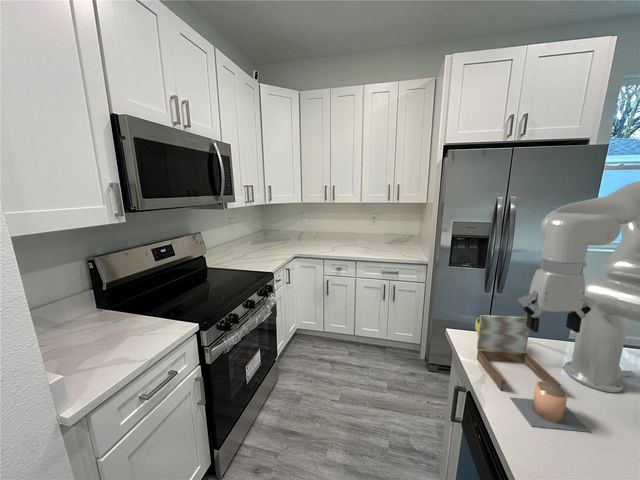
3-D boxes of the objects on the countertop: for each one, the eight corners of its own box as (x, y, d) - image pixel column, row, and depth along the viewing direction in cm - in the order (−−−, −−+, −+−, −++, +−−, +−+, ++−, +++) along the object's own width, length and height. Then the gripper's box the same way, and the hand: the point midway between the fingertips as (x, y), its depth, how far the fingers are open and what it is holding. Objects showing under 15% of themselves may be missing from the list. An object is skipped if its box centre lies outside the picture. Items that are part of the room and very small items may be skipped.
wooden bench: (523, 360, 87) (529, 317, 84) (558, 395, 72) (567, 344, 69) (475, 357, 89) (480, 315, 86) (500, 390, 74) (506, 340, 71)
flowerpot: (551, 404, 68) (555, 381, 67) (569, 424, 63) (574, 399, 61) (527, 402, 69) (530, 379, 68) (542, 421, 63) (546, 397, 62)
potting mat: (561, 402, 69) (561, 401, 69) (591, 432, 61) (591, 431, 61) (509, 397, 71) (509, 397, 71) (531, 426, 62) (531, 425, 62)
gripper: (585, 261, 66) (575, 322, 69) (513, 263, 67) (507, 322, 71) (615, 270, 58) (603, 338, 62) (534, 271, 60) (526, 337, 63)
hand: (552, 329), depth 66 cm, fingers open, 9 cm apart
